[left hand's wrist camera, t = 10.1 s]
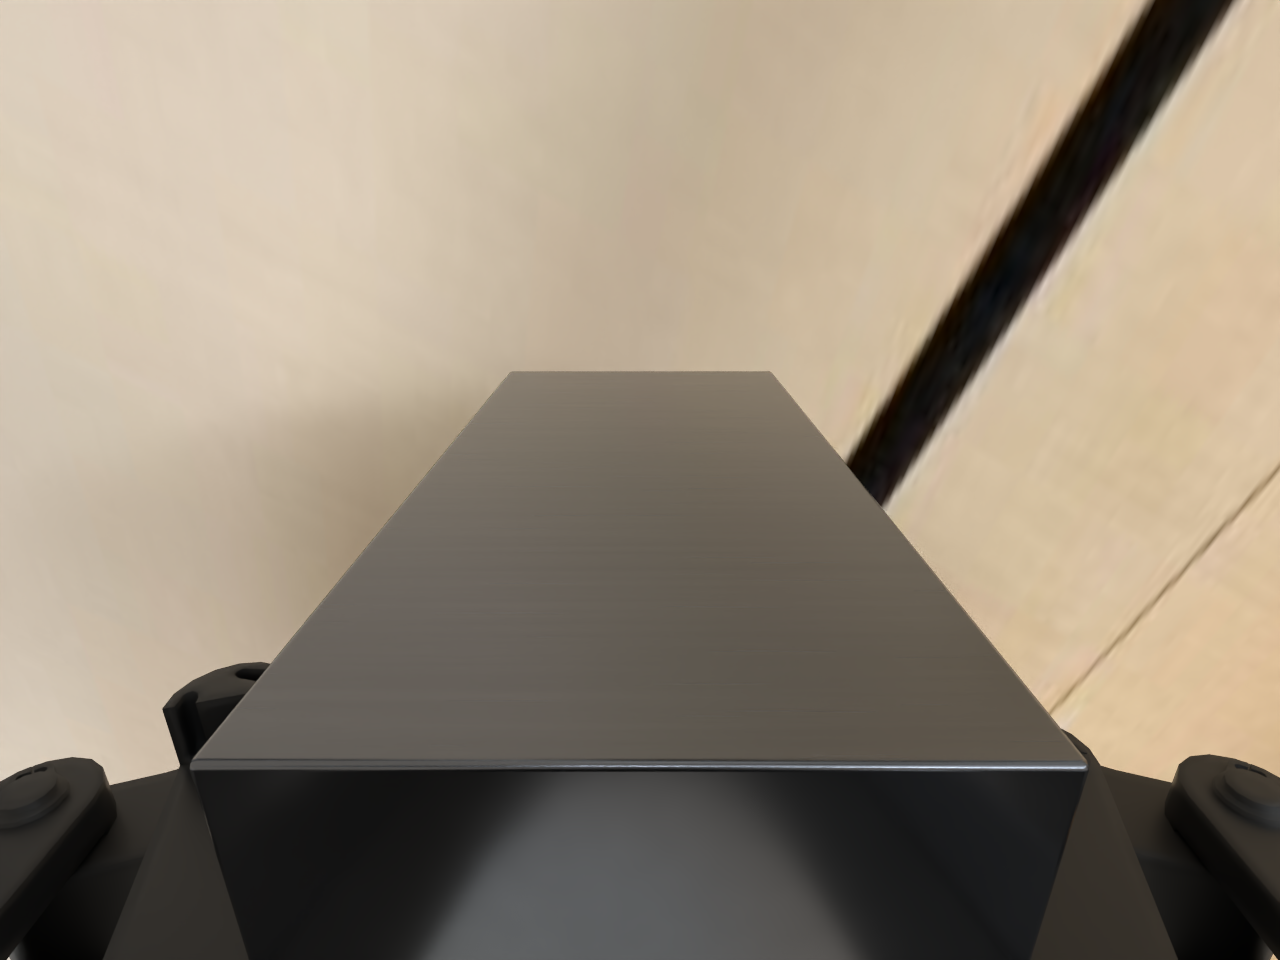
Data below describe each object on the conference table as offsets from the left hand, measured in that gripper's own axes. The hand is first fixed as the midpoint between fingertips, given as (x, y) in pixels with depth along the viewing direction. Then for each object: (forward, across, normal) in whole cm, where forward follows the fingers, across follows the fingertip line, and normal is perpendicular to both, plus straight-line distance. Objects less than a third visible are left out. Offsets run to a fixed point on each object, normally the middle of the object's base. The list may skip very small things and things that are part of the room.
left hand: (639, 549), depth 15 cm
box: (+3, 0, -7) cm, 8 cm away
